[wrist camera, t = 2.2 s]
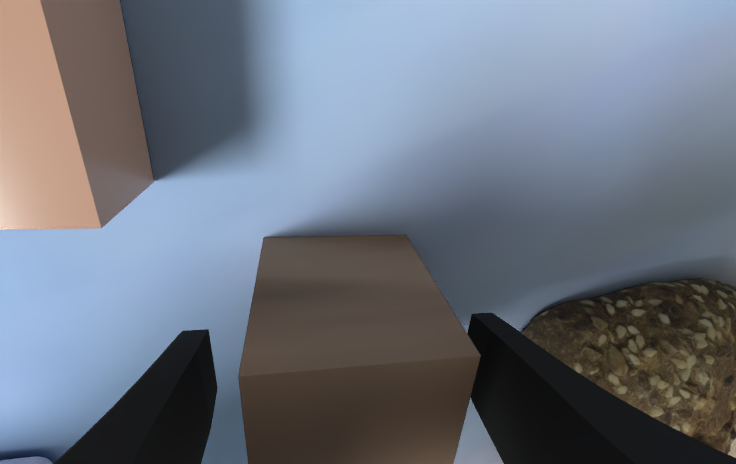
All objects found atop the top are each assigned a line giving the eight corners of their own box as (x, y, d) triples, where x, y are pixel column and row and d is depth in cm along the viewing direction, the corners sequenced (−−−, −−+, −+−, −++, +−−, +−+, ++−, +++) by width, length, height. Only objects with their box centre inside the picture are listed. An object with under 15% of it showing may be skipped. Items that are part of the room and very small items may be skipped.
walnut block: (392, 340, 14) (445, 494, 9) (270, 349, 13) (255, 525, 8) (405, 234, 12) (481, 355, 7) (263, 236, 11) (238, 376, 6)
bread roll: (517, 275, 14) (620, 376, 10) (770, 263, 16) (948, 341, 12) (461, 480, 19) (510, 606, 15) (656, 450, 22) (749, 552, 17)
